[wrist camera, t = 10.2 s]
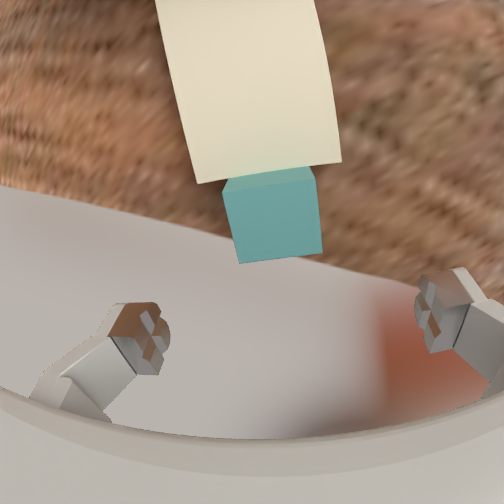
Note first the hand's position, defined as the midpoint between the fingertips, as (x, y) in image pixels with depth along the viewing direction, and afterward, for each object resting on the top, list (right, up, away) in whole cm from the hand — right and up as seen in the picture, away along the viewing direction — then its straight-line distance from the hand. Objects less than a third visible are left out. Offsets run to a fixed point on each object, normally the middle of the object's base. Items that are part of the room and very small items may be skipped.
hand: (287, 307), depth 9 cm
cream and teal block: (-1, +12, +5) cm, 13 cm away
